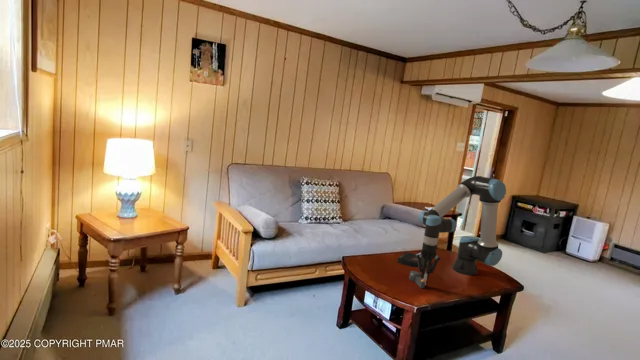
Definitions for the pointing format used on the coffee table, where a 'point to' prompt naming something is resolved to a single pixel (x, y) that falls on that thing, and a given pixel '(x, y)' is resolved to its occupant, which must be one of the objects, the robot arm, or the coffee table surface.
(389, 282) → the coffee table surface
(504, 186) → the robot arm
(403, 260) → the portable cd player
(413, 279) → the dial
